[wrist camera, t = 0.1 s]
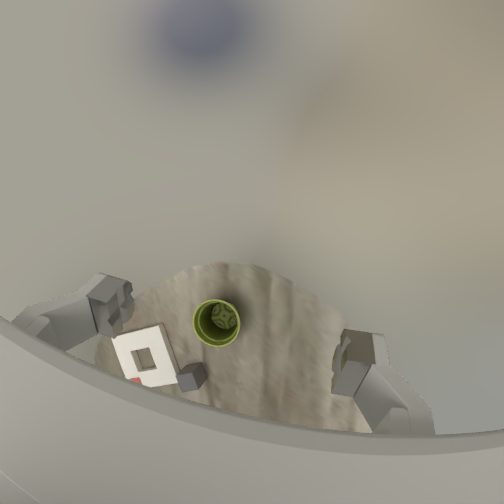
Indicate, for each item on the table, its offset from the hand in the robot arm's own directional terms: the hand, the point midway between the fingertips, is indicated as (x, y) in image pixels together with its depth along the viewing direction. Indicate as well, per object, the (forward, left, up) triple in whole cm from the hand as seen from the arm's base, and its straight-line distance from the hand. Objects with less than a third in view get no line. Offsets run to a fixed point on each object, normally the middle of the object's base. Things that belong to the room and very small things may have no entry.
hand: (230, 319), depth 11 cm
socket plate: (-11, +37, -54) cm, 66 cm away
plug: (-17, +26, -54) cm, 62 cm away
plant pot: (-6, +15, -55) cm, 57 cm away
